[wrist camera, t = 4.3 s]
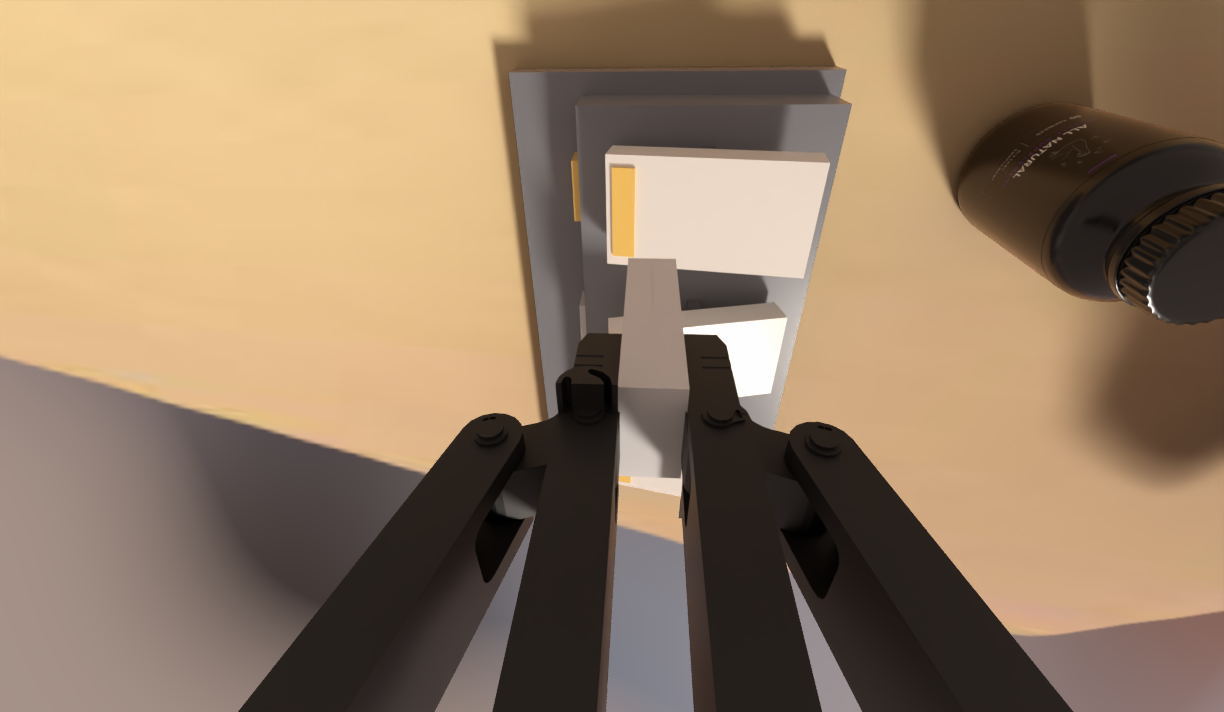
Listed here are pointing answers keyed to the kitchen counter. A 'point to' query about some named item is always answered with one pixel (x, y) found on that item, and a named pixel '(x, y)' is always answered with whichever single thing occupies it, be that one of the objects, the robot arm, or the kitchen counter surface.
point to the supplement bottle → (1105, 207)
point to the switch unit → (654, 117)
